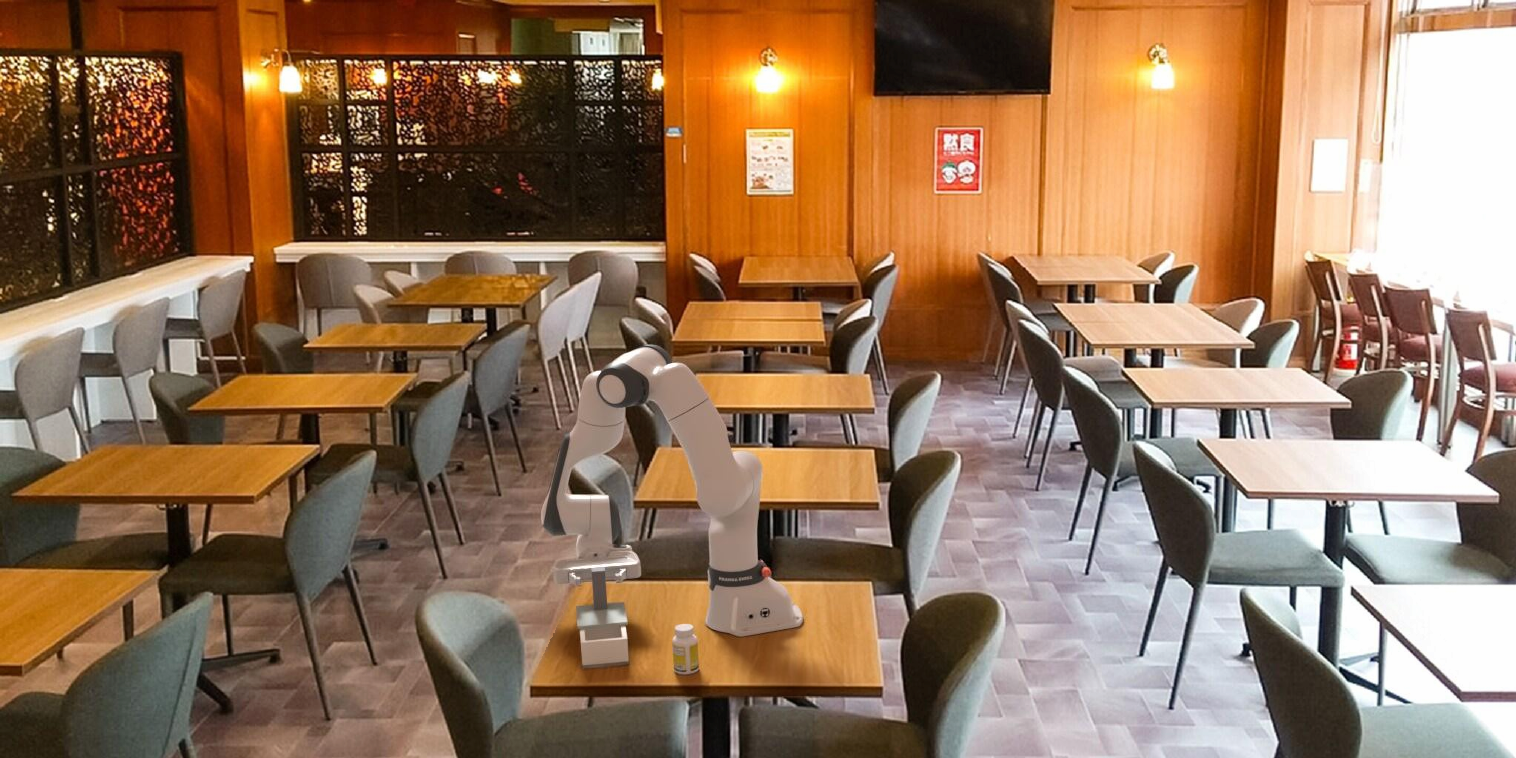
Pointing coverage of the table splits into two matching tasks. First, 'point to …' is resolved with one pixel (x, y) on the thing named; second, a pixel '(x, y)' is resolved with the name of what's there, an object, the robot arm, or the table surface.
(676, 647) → the supplement bottle
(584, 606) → the carton lid
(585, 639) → the carton
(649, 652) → the table surface
